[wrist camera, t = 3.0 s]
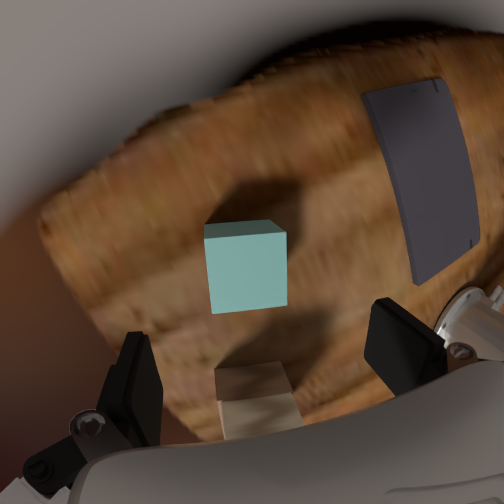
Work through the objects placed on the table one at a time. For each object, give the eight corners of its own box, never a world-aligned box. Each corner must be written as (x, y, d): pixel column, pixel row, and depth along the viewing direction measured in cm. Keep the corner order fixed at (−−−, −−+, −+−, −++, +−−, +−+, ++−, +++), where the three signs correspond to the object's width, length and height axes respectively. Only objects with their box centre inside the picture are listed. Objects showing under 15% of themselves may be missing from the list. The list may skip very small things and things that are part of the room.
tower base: (280, 359, 29) (292, 390, 24) (279, 403, 31) (290, 433, 26) (214, 368, 28) (216, 400, 23) (221, 411, 30) (225, 442, 25)
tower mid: (291, 392, 24) (306, 430, 19) (288, 432, 26) (300, 467, 21) (221, 402, 23) (226, 443, 19) (228, 441, 25) (233, 478, 20)
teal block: (268, 219, 25) (286, 232, 19) (270, 279, 26) (287, 305, 21) (204, 224, 24) (204, 239, 19) (210, 285, 25) (212, 313, 20)
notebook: (357, 96, 23) (410, 282, 30) (366, 92, 22) (418, 286, 28) (435, 79, 24) (473, 238, 30) (444, 77, 22) (481, 241, 29)
